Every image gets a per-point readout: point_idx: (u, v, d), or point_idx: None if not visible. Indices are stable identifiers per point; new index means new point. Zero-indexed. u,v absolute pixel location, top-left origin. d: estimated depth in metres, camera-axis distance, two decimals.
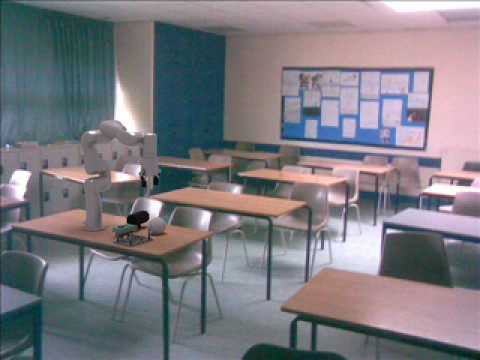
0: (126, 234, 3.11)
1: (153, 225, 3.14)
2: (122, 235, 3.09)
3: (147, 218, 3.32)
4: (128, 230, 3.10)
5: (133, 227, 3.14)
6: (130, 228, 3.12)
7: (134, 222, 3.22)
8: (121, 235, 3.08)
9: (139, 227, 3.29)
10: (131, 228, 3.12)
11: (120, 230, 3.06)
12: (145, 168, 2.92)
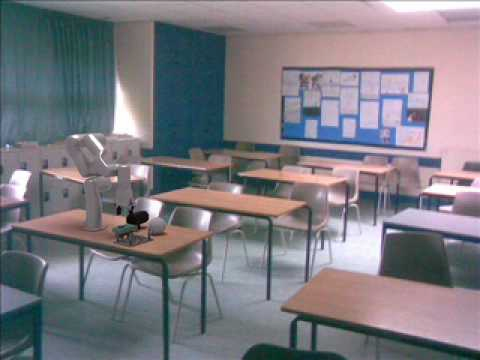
0: (126, 234, 3.11)
1: (153, 225, 3.14)
2: (122, 235, 3.09)
3: (147, 218, 3.32)
4: (128, 230, 3.10)
5: (133, 227, 3.14)
6: (130, 228, 3.12)
7: (133, 222, 3.21)
8: (121, 235, 3.08)
9: (139, 227, 3.29)
10: (131, 228, 3.12)
11: (120, 230, 3.06)
12: (132, 198, 3.08)
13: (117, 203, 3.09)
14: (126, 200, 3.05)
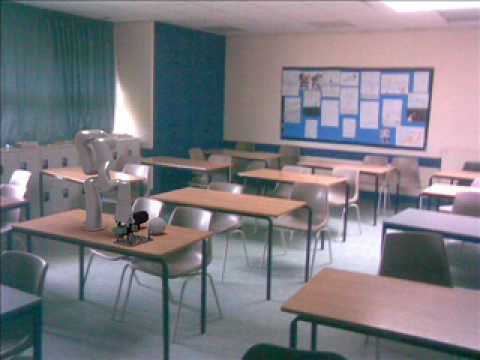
0: (126, 234, 3.11)
1: (153, 225, 3.14)
2: (122, 235, 3.09)
3: (146, 218, 3.32)
4: None
5: (133, 227, 3.14)
6: None
7: None
8: (121, 235, 3.08)
9: (138, 227, 3.28)
10: None
11: (120, 230, 3.06)
12: (131, 214, 3.09)
13: (117, 219, 3.11)
14: (126, 216, 3.07)
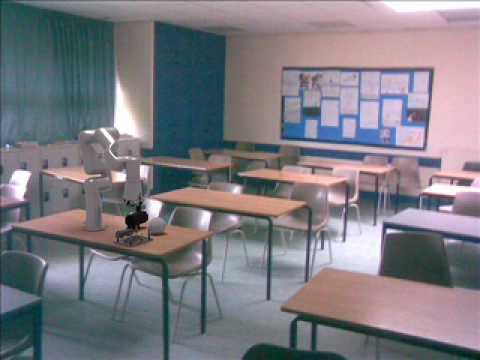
0: (126, 234, 3.11)
1: (153, 225, 3.14)
2: (122, 235, 3.09)
3: (146, 218, 3.31)
4: None
5: (143, 206, 2.99)
6: None
7: (132, 222, 3.20)
8: (121, 235, 3.08)
9: (138, 227, 3.28)
10: (141, 207, 2.98)
11: (129, 208, 2.91)
12: (141, 192, 2.95)
13: (125, 197, 2.96)
14: (135, 194, 2.92)
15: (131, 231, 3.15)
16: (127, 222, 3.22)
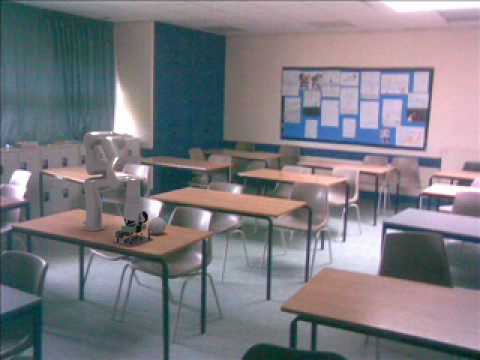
0: (126, 234, 3.11)
1: (153, 225, 3.14)
2: (122, 235, 3.09)
3: (146, 219, 3.31)
4: None
5: (143, 226, 3.01)
6: None
7: (132, 222, 3.20)
8: (121, 235, 3.08)
9: None
10: (141, 227, 3.00)
11: (129, 229, 2.93)
12: (141, 212, 2.97)
13: (126, 217, 2.98)
14: (135, 214, 2.94)
15: None
16: None
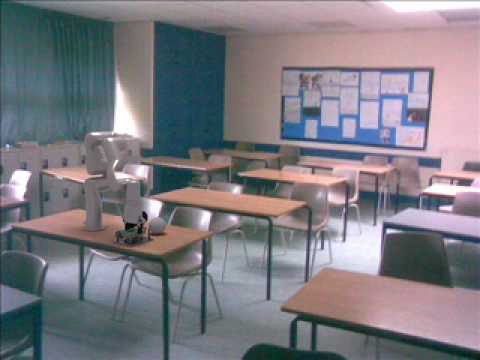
0: None
1: (153, 225, 3.14)
2: None
3: (145, 219, 3.30)
4: (137, 234, 2.98)
5: (143, 231, 3.02)
6: None
7: None
8: None
9: None
10: None
11: (129, 234, 2.94)
12: (141, 214, 2.97)
13: (126, 219, 2.98)
14: (135, 217, 2.94)
15: None
16: None
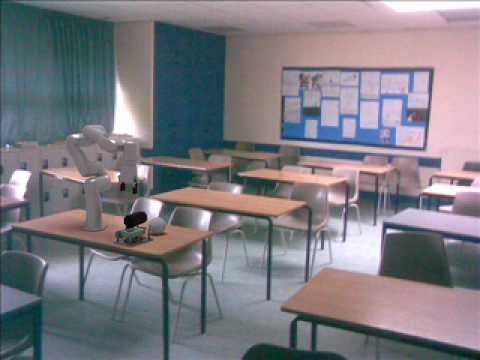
0: None
1: (153, 225, 3.14)
2: None
3: (145, 219, 3.30)
4: (137, 234, 2.98)
5: (143, 231, 3.02)
6: (139, 232, 3.00)
7: (131, 222, 3.19)
8: None
9: None
10: (140, 232, 3.00)
11: (129, 234, 2.94)
12: (136, 175, 3.05)
13: (121, 179, 3.06)
14: (130, 177, 3.02)
15: None
16: (126, 222, 3.21)
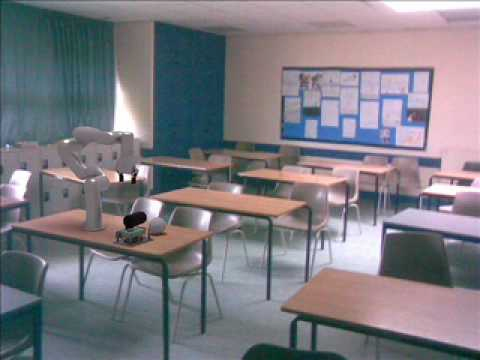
0: None
1: (153, 225, 3.14)
2: None
3: (144, 219, 3.29)
4: (137, 234, 2.98)
5: (143, 231, 3.02)
6: (139, 232, 3.00)
7: (130, 223, 3.19)
8: None
9: None
10: (140, 232, 3.00)
11: (129, 234, 2.94)
12: (135, 165, 3.10)
13: (120, 170, 3.12)
14: (129, 167, 3.08)
15: None
16: (125, 223, 3.20)
